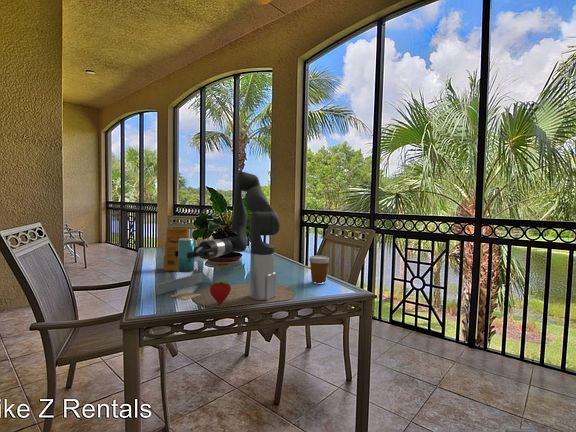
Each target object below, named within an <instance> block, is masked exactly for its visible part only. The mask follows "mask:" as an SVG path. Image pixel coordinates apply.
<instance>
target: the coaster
mask: <svg viewBox="0 0 576 432" xmlns="http://www.w3.org/2000/svg"><path fill="white" fill-rule="evenodd" d="M199 296H202V294H201V293H197V292H192V291H188V290H185V291H182V292H179V293H175V294H171V295H170V296H169V297H171V298H175V299H177V300H183V301H187V300H190V299H194V298H197V297H199Z"/></svg>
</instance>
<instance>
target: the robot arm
mask: <svg viewBox="0 0 576 432" xmlns="http://www.w3.org/2000/svg"><path fill="white" fill-rule="evenodd" d="M233 186H234V189H233V191H234V192H233V213H232V219H231V226H230V230H231V231H232V232H234V233H236V235H237V236H228V237H225V238H220V239H209V240H203V241H201V242H199V244H198V245H194V252H189V253H187V258H188V259H190V258H194V259H195V258H196V259H197V258H199V259H203V260H209V259H214V258H219V257H221V256H224V255H225V256H226V255H227V254H230V253H242V252H245V250H247V248H248V236H247V235H248V234H247V223H248V217H249V216H248V211H247V209H248V210H249V211H250V212H251V215H250V219H249V220H250V221H249V223H250V225H249V226H250V261H249V262H250V266H249V267H250V268H249V298H250V299H252V300H257V301H269V300H272V299H273V298H276V292H277V291H276V290H277V289H276V287H277V286H276V285H277V283H276V281H277V273H276V272H275V246H274V245H273V244H271V243H267V242H265V241H263V239H261V236H275V235H277V234H278V233H279V230H280V228H281V226H280V225H281V224H280V223H281V222H280V219H279V215H278V214H277V212H276V211H275V210H274V208H273V207H272V206H271V204H270V202H269V201H268V199H267V196H266V193H264V191H263V188H262V186H261V183H260V180H259V177H258V176H257V175H255V174H252V173H249V172H246V171H238V173H237V174H236V176H235V179H234V185H233ZM242 192H246V193H245V195H244V200H243V197H242ZM244 203H245V204H246V206H245V204H244ZM246 207H247V208H246ZM175 257H178V250H177V251H175Z"/></svg>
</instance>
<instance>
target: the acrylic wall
mask: <svg viewBox="0 0 576 432" xmlns="http://www.w3.org/2000/svg"><path fill="white" fill-rule="evenodd" d="M200 283H203V273H202V272H199V273H195V274H191V275H188V276H183V277H180V278H175V279H172V280H168V281H165V282H160V283H157V284H156V285H155V286H156V290H155V291H156V294H155V295H157V296H160V295H163V294H165V293H170V292H173V291H177V290H179V289H183V288H187V287H190V286H194V285H196V284H200Z"/></svg>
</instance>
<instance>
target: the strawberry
mask: <svg viewBox="0 0 576 432" xmlns="http://www.w3.org/2000/svg"><path fill="white" fill-rule="evenodd" d="M220 278H221V279H220V280H218V281H217V280H216V281H213V284H211V285H210V287H209V291H210V295H211V296H212V297H213V299H214V300H215V301H216V302H217V303H218V304H220V305H221V304H223V302H224V301H225V300H226V299H227V298H228V296H229V295H230V292H231V289H232V287H231V285H230V284H229V281H228V280H227V281H226V280H223V278H222V276H220Z"/></svg>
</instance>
